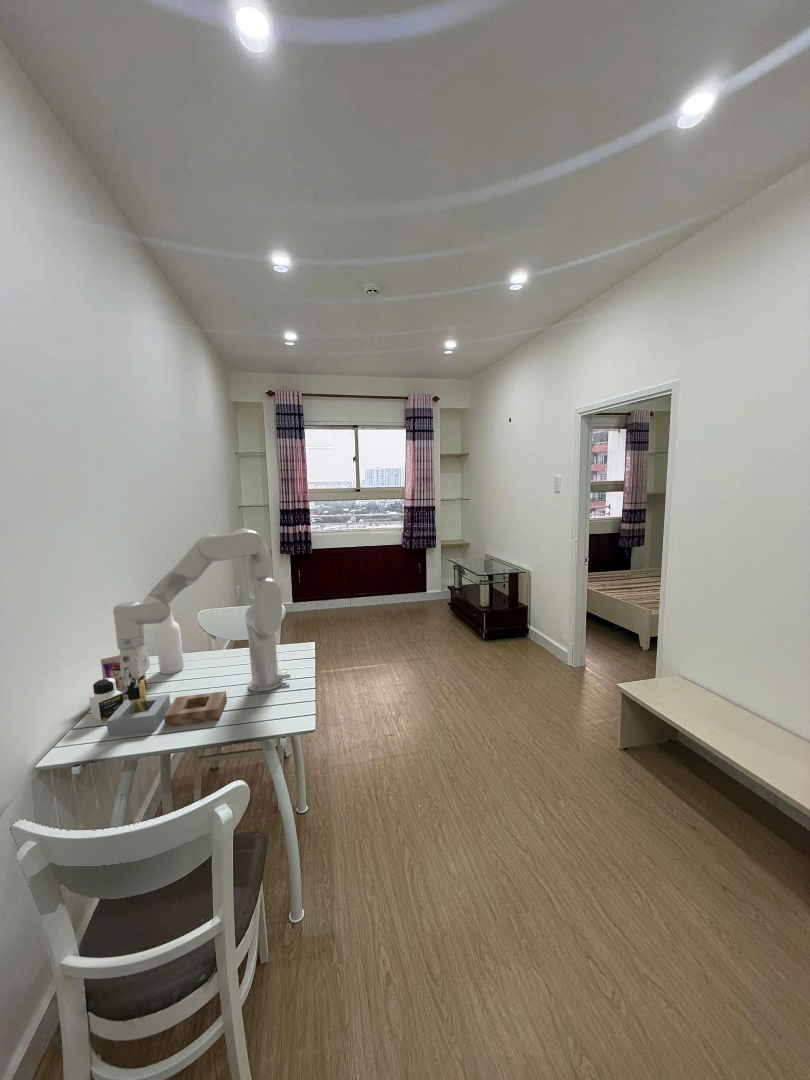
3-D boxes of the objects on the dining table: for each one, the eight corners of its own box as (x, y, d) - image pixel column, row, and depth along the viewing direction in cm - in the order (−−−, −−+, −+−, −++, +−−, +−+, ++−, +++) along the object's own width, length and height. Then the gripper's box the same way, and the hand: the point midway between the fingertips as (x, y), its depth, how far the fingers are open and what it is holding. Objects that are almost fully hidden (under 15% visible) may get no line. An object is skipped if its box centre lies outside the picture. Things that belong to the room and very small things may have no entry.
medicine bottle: (101, 722, 136) (96, 687, 134) (91, 716, 140) (86, 682, 138) (125, 712, 142) (120, 678, 140) (115, 706, 146) (110, 674, 144)
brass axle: (149, 706, 138) (146, 677, 136) (144, 712, 133) (141, 683, 132) (134, 707, 137) (131, 678, 136) (129, 714, 133) (125, 685, 131)
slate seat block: (170, 708, 144) (169, 694, 143) (156, 730, 131) (154, 715, 130) (127, 713, 141) (125, 699, 140) (108, 736, 128) (106, 721, 127)
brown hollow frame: (226, 701, 147) (225, 691, 146) (219, 720, 135) (218, 708, 134) (177, 708, 143) (176, 697, 143) (165, 727, 132) (163, 715, 131)
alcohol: (173, 675, 169) (165, 603, 165) (154, 674, 171) (146, 603, 167) (188, 666, 177) (181, 597, 173) (171, 665, 179) (163, 597, 175)
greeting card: (104, 699, 151) (98, 660, 149) (118, 689, 158) (113, 652, 156) (135, 698, 151) (130, 659, 149) (148, 688, 158) (143, 651, 156)
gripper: (133, 649, 125) (140, 707, 127) (154, 631, 141) (160, 682, 143) (105, 652, 123) (112, 710, 126) (129, 633, 140) (135, 684, 142)
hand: (137, 694), depth 134 cm, fingers closed on brass axle, 4 cm apart
